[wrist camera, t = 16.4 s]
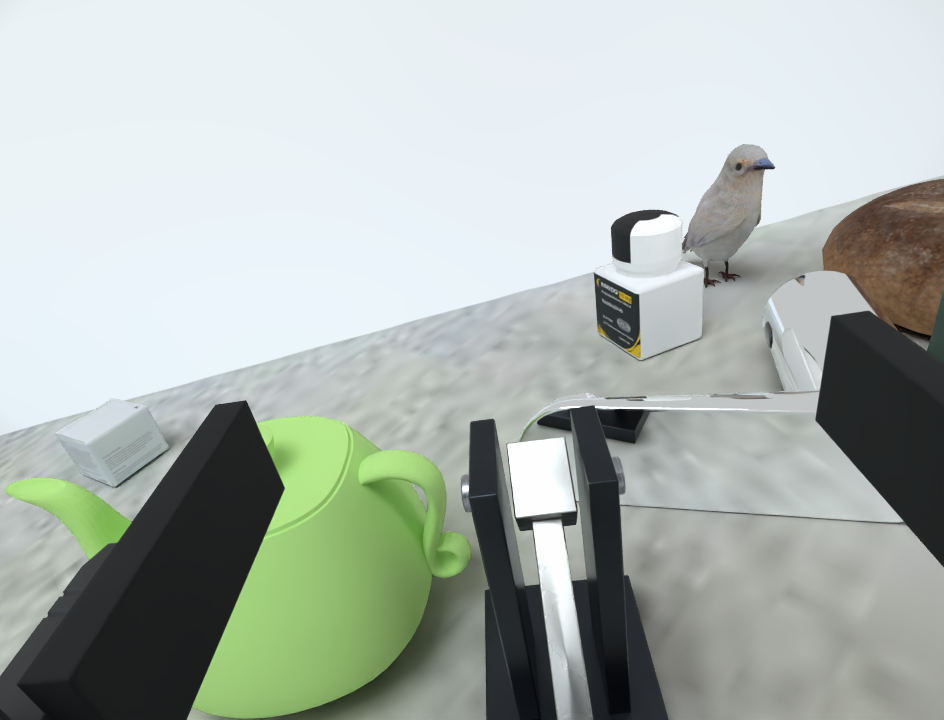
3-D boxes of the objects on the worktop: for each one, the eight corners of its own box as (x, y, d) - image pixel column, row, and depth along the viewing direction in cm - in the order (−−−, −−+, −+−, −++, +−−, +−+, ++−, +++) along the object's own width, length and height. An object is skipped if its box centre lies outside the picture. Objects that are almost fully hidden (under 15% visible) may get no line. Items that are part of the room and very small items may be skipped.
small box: (136, 437, 55) (112, 395, 53) (172, 448, 52) (148, 404, 50) (79, 475, 51) (50, 432, 49) (115, 489, 48) (86, 444, 46)
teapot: (47, 777, 28) (-134, 606, 22) (178, 543, 41) (89, 393, 35) (486, 728, 27) (431, 530, 20) (478, 502, 40) (442, 338, 33)
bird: (741, 308, 57) (752, 155, 50) (665, 268, 69) (665, 139, 62) (783, 296, 58) (800, 143, 51) (701, 258, 70) (705, 130, 62)
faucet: (881, 267, 43) (1008, 413, 28) (863, 356, 47) (966, 529, 32) (553, 283, 51) (510, 405, 35) (561, 359, 55) (525, 499, 39)
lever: (655, 870, 17) (675, 918, 14) (539, 877, 18) (533, 925, 15) (581, 457, 24) (584, 427, 20) (496, 468, 24) (485, 440, 21)
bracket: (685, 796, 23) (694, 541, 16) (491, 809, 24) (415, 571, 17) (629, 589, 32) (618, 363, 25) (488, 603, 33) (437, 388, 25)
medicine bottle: (596, 333, 58) (588, 218, 52) (655, 313, 60) (654, 199, 54) (639, 362, 52) (636, 235, 46) (703, 338, 54) (707, 213, 48)
